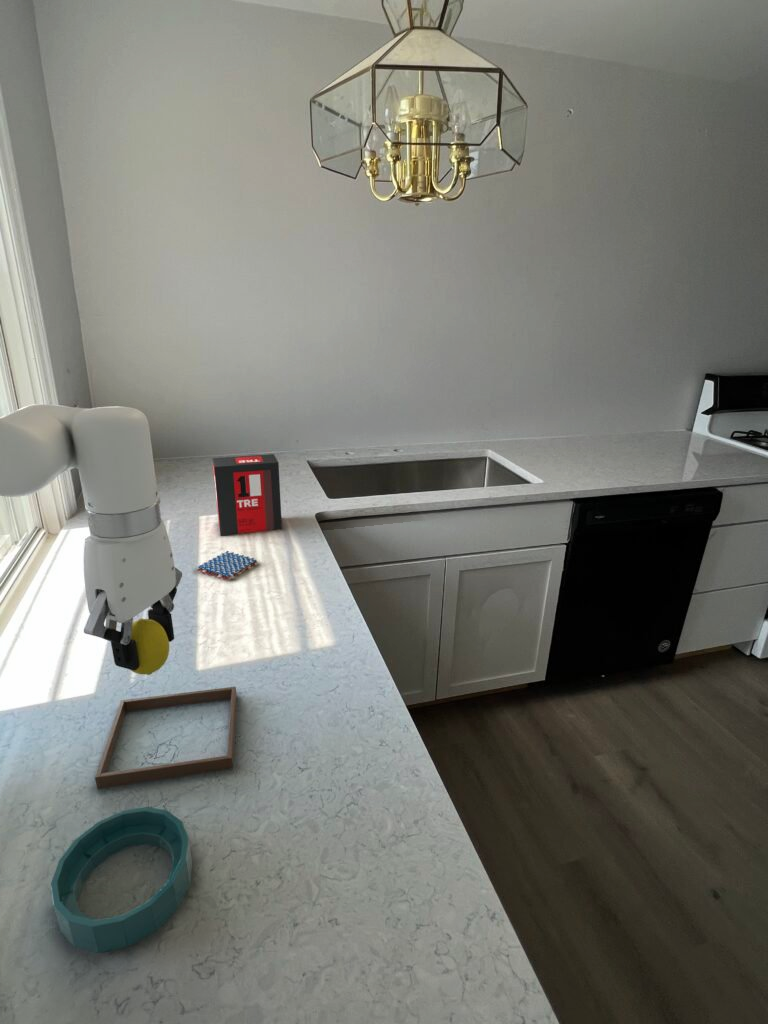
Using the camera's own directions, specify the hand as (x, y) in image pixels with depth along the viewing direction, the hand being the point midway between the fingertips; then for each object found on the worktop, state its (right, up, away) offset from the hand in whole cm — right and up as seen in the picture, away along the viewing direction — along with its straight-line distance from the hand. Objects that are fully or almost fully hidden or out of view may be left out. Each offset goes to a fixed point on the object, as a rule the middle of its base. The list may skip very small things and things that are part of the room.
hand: (145, 651), depth 70 cm
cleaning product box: (-8, +12, +87) cm, 88 cm away
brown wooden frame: (-1, -16, +12) cm, 20 cm away
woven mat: (-7, +3, +63) cm, 64 cm away
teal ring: (+2, -24, -9) cm, 26 cm away
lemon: (0, -3, +1) cm, 4 cm away
